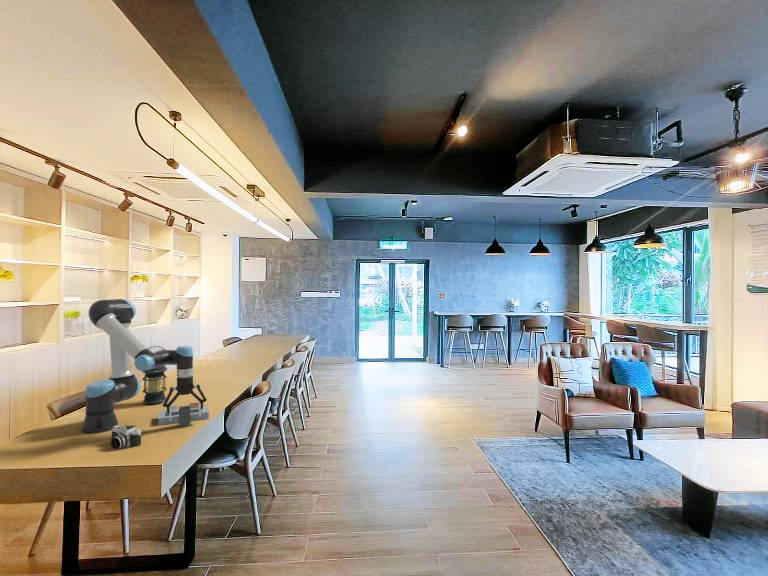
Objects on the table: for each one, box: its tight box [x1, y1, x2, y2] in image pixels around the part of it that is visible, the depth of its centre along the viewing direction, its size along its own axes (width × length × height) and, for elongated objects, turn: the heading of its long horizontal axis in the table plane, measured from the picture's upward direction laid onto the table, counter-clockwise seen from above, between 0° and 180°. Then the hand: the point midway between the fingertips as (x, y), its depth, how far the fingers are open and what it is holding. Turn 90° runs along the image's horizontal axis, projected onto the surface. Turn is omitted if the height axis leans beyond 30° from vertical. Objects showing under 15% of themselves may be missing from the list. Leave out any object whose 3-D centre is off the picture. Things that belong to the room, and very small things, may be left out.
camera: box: [110, 424, 142, 450], centre depth 181 cm, size 16×9×10 cm, turn 72°
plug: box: [178, 404, 191, 428], centre depth 208 cm, size 5×5×10 cm
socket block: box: [157, 401, 210, 426], centre depth 220 cm, size 24×14×7 cm, turn 119°
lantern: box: [141, 345, 168, 405], centre depth 250 cm, size 14×13×35 cm
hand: (185, 417), depth 208 cm, fingers open, 13 cm apart
